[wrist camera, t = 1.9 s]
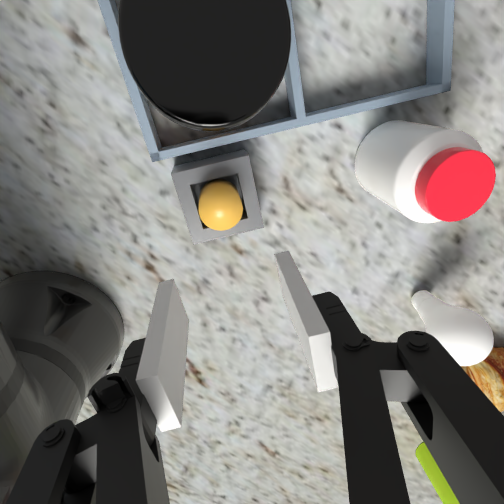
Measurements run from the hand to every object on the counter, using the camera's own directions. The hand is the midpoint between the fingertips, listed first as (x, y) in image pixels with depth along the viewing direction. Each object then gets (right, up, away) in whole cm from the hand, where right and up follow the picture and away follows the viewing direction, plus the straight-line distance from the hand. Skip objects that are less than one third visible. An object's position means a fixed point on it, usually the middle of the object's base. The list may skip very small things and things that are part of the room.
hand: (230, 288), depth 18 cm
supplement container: (-3, +19, +12) cm, 22 cm away
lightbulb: (+22, -3, +26) cm, 34 cm away
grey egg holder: (-2, +8, +17) cm, 19 cm away
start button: (-2, +7, +15) cm, 16 cm away
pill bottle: (+15, +12, +18) cm, 26 cm away
